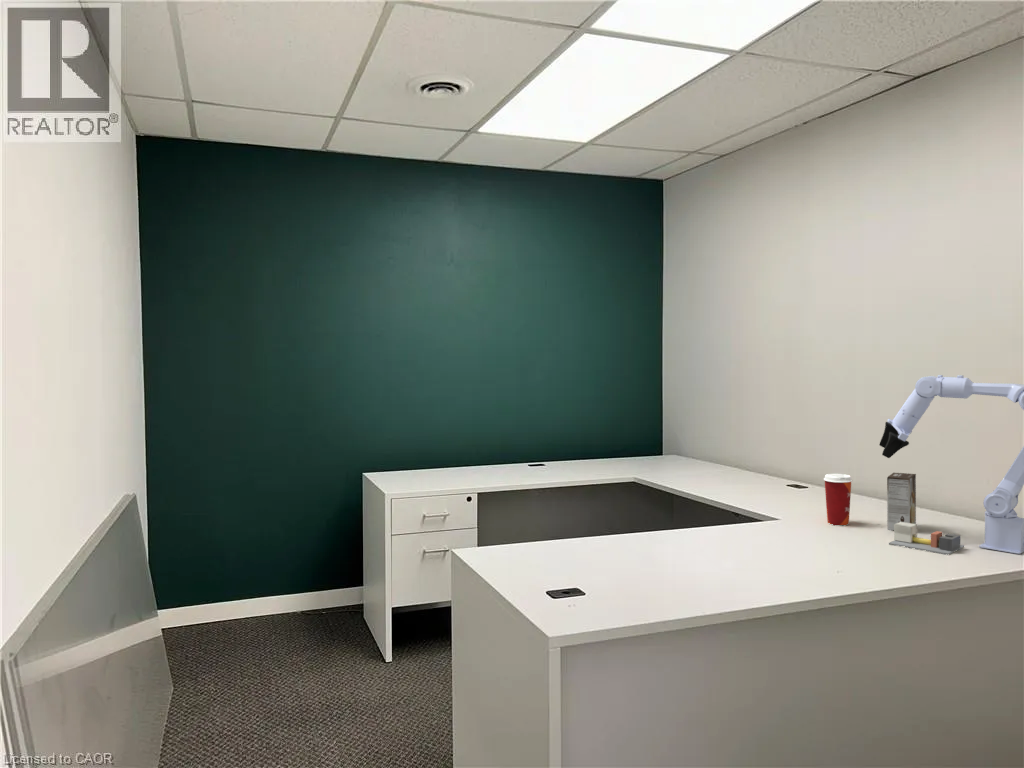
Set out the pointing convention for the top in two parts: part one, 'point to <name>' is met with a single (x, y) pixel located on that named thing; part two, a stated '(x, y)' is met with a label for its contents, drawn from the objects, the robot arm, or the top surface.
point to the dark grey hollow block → (949, 542)
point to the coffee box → (901, 499)
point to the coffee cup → (838, 498)
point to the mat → (922, 546)
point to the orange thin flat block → (935, 538)
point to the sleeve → (905, 531)
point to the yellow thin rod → (921, 540)
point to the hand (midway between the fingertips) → (884, 451)
